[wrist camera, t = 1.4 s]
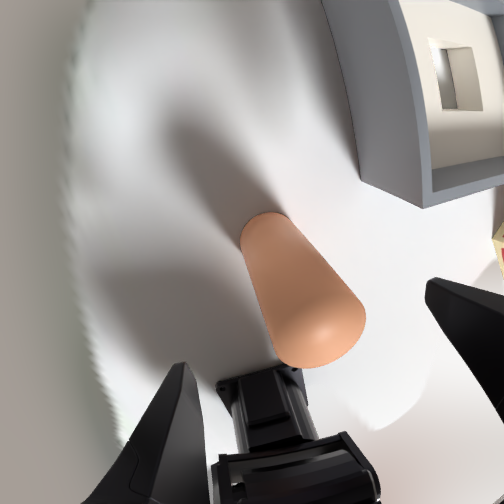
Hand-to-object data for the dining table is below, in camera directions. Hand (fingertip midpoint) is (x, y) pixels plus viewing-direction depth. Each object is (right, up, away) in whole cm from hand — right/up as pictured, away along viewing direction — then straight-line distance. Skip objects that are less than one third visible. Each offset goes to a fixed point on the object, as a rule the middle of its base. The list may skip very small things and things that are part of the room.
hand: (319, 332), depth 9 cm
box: (+9, +14, +4) cm, 17 cm away
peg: (-1, +3, +7) cm, 8 cm away
